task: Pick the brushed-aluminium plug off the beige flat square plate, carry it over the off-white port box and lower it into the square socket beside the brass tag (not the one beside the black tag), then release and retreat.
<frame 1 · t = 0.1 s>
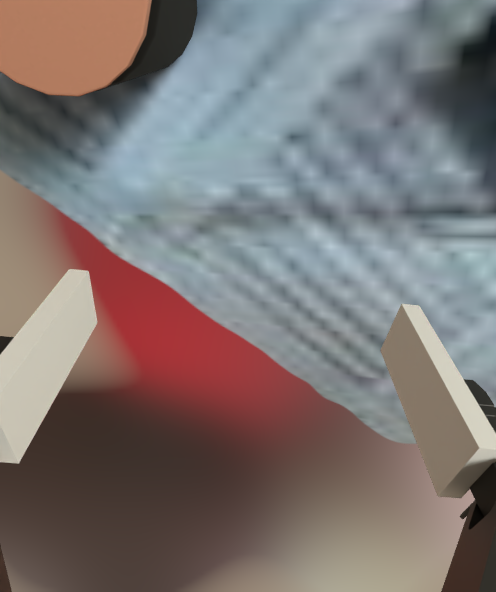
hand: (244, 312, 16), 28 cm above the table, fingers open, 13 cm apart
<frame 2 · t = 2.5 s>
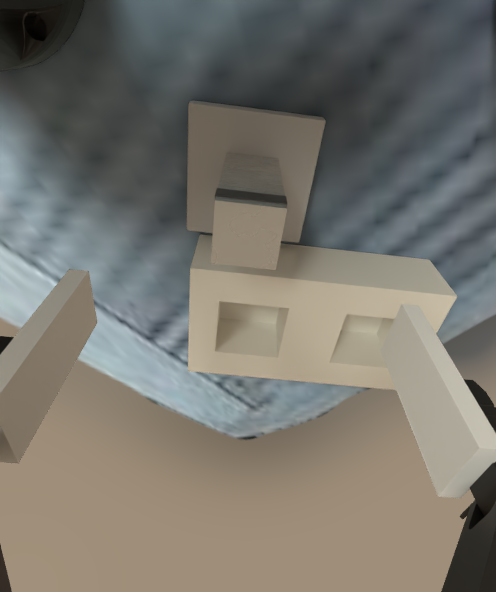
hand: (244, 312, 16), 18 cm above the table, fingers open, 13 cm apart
beige flat square plate: (250, 174, 30), on the table
port box: (303, 297, 38), on the table
plug: (249, 180, 29), point 1 cm above the table, touching beige flat square plate
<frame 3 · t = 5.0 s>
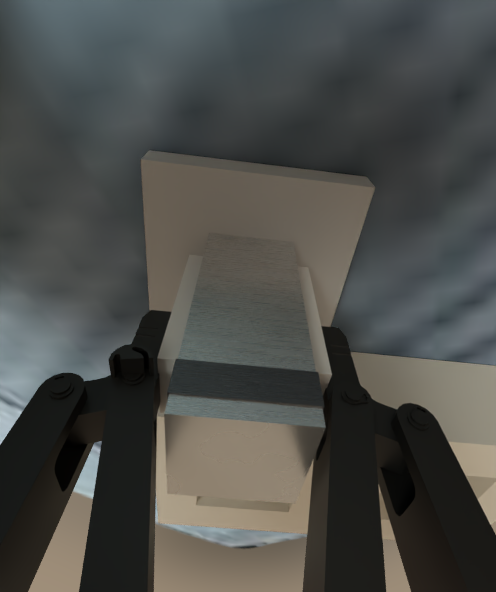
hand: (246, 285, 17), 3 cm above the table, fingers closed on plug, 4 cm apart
beige flat square plate: (247, 258, 19), on the table
port box: (323, 409, 27), on the table
plug: (246, 273, 18), point 2 cm above the table, touching beige flat square plate, gripper
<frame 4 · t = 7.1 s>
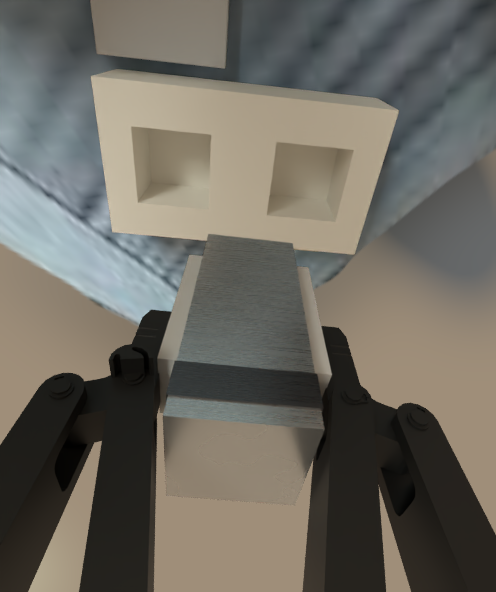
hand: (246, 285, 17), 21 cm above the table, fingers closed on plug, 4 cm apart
port box: (242, 156, 34), on the table
plug: (246, 274, 18), point 20 cm above the table, touching gripper
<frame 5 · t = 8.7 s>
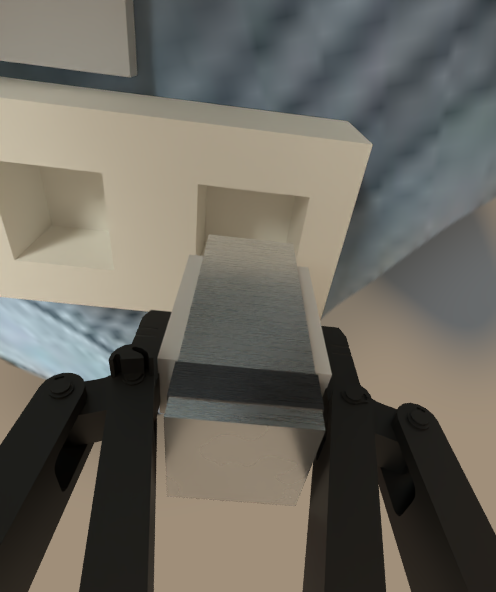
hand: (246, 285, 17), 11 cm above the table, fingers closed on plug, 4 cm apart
port box: (172, 193, 26), on the table
plug: (246, 274, 18), point 10 cm above the table, touching gripper
when the fingers open (7 cm above the table, at t = 9.6 s): plug drops 5 cm, resting on port box.
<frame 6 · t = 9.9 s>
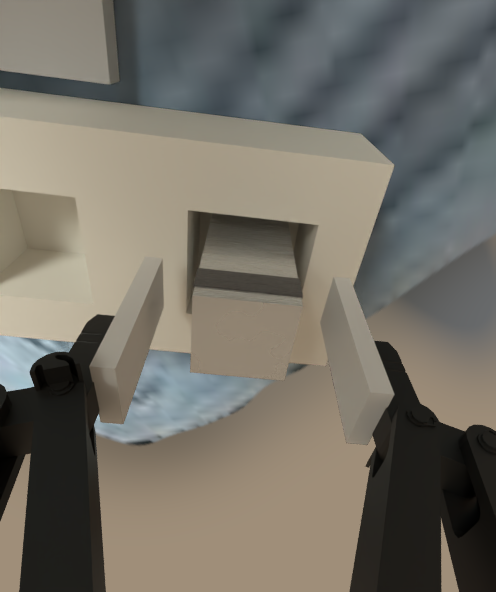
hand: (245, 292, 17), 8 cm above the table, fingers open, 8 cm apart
port box: (162, 213, 23), on the table
plug: (247, 230, 22), point 1 cm above the table, touching port box
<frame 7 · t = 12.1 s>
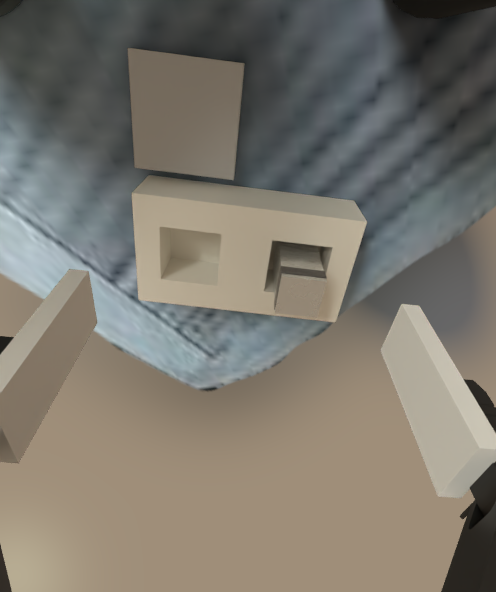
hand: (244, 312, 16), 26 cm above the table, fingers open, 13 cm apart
beige flat square plate: (187, 117, 35), on the table
port box: (246, 239, 42), on the table
plug: (292, 248, 41), point 1 cm above the table, touching port box
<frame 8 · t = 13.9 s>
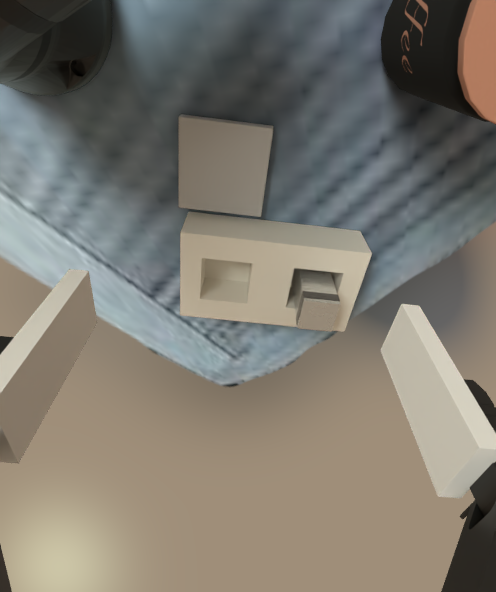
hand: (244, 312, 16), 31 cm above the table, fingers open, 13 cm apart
beige flat square plate: (223, 166, 42), on the table
port box: (268, 261, 49), on the table
coffee jar: (433, 30, 34), on the table
plug: (308, 270, 49), point 1 cm above the table, touching port box
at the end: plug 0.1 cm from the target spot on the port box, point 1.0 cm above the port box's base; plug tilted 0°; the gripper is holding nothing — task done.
